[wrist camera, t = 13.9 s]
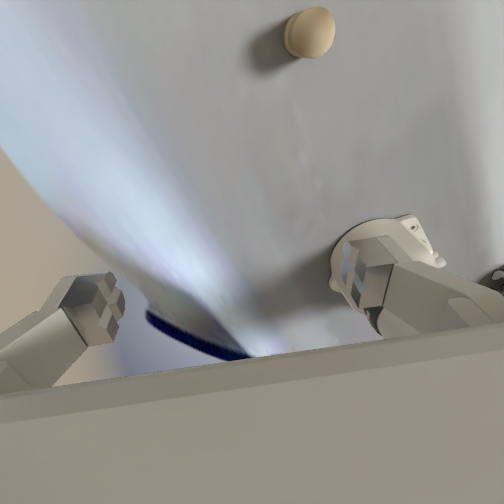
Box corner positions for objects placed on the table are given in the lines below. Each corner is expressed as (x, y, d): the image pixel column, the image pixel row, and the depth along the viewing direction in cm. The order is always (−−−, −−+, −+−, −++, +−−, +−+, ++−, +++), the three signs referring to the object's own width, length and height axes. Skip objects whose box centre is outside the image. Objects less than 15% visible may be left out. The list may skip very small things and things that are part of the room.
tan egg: (325, 32, 32) (343, 30, 28) (300, 65, 33) (313, 68, 29) (301, 1, 30) (316, -6, 26) (275, 38, 31) (285, 37, 27)
